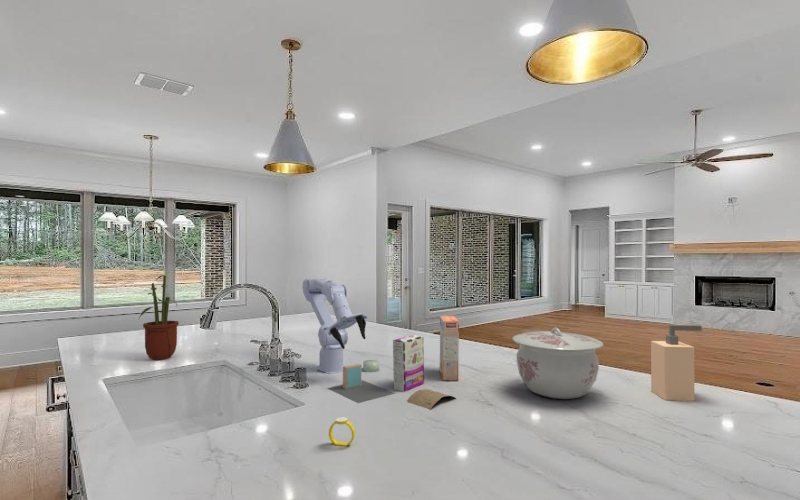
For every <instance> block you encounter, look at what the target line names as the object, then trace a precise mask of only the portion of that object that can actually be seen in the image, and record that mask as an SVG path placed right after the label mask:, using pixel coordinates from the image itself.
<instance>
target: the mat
mask: <svg viewBox="0 0 800 500" xmlns="http://www.w3.org/2000/svg"><path fill="white" fill-rule="evenodd" d="M326 388H327V390H329V391H332V392H334V393H336V394H339V396H340V395H341V396H342V397H344V398H347V399H349V400H351V401H353V402H355V403H357V404H360V403H364V402H369V401H372V400H376V399H379V398H385V397H387V396H392V395H395V394H396V393H395V392H393V391H392V390H388V389H386V388H383V387H381V386H378V385H375V384H373V383H371V382H368V381H366V380H362V379H361V386H359V387H355V388H350V389H344V388H343V384H342V385H341V384H340V385H335V386H332V387H326Z"/></svg>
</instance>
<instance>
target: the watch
mask: <svg viewBox="0 0 800 500" xmlns="http://www.w3.org/2000/svg"><path fill="white" fill-rule="evenodd" d="M335 425H347V427H349V429H350V431H351V438H350V440H349V441H348V442H345V441H338V440H337V439H336V438H334V435H333V427H334V426H335ZM328 437H329V440H330V442H331V443H332V444H333V445H334V446H340V447H341V446H344V447H348V446H349V445H350V444H352V442H353V441H354V439H355V437H356V429H355V427H354V426H353V423H352V422H351V421H349V419H348V418H347V417H346V416H341V417H337V418H336V419H335V421H333V423H331V425H330V426H329V429H328Z"/></svg>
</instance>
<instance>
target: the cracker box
mask: <svg viewBox="0 0 800 500" xmlns="http://www.w3.org/2000/svg"><path fill="white" fill-rule="evenodd" d="M459 335H460V321H459V320H458V319H457V317H456V316H455V315H440V316H439V372H440V377H441V379H442V381H447V382H449V381H450V382H453V381H454V382H458V381H459V367H460V366H459V363H460V361H459V359H460V358H459V353H460V352H459V350H460V348H459V347H460V346H459V345H460V344H459V343H460V342H459V341H460V337H459Z"/></svg>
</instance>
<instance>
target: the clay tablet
mask: <svg viewBox="0 0 800 500" xmlns="http://www.w3.org/2000/svg"><path fill="white" fill-rule="evenodd" d="M444 397H448V398H453V399H456V397H455V396H452V395H449V394H444V393H441V392H438V391H434V390H432V389H427V388H425V389H424V388H423V389H418V390H416V391H415V392H414V393H412V394H411V395H410V396H409V397H408V399H407V400H406V402H407V403H408V404H411V405H415V406H418V407H421V408H424V409H427V410H430V411H431V410H432V408H433V407H434V406H435V404H436V403H437V402H438V401H440V400H441V398H444Z"/></svg>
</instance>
